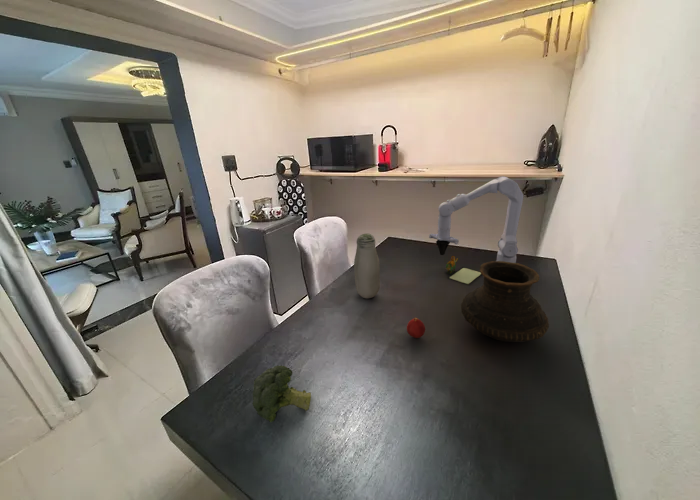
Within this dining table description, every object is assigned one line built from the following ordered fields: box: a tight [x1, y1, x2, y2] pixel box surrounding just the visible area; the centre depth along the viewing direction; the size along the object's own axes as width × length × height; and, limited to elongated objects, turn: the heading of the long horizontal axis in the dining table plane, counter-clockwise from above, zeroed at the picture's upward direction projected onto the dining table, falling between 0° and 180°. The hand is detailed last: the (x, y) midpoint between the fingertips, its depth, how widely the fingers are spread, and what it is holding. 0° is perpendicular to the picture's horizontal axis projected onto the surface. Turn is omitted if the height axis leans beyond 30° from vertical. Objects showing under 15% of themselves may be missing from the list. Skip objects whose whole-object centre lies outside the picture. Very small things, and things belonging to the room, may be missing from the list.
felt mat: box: [449, 267, 482, 285], centre depth 124 cm, size 14×9×1 cm, turn 132°
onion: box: [406, 317, 426, 339], centre depth 86 cm, size 6×6×8 cm
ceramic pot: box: [460, 260, 550, 343], centre depth 83 cm, size 24×24×22 cm
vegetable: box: [252, 364, 312, 423], centre depth 66 cm, size 12×13×15 cm
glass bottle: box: [353, 233, 381, 299], centre depth 108 cm, size 10×10×28 cm
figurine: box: [444, 255, 459, 275], centre depth 127 cm, size 3×12×8 cm, turn 133°
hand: (442, 254), depth 130 cm, fingers closed
